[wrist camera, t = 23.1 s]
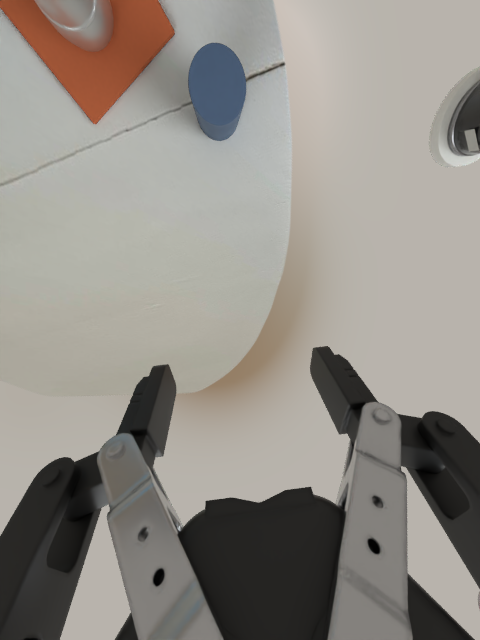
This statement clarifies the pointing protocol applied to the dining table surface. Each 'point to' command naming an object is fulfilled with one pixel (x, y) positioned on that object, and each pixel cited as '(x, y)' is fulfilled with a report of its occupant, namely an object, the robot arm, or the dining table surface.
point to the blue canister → (217, 90)
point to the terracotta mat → (102, 66)
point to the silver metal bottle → (81, 21)
